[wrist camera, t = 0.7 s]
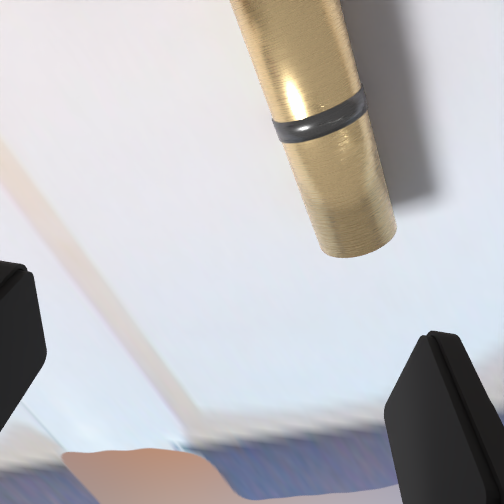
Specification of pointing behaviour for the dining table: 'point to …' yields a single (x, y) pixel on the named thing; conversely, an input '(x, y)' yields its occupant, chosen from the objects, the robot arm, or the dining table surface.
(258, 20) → the brass tube
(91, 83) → the dining table surface
